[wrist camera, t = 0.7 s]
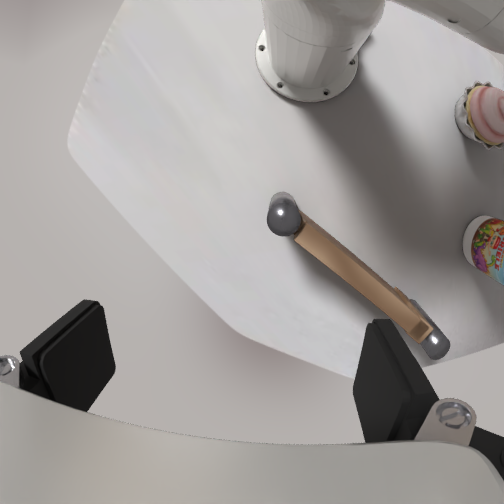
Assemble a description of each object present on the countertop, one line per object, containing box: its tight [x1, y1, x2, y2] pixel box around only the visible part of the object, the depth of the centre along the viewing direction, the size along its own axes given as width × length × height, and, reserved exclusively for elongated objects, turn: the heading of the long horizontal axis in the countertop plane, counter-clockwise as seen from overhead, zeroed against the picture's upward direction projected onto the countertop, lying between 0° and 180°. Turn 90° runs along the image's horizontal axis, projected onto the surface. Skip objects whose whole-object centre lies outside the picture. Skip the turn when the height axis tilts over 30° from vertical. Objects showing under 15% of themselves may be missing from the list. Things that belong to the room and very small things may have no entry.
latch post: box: [410, 299, 450, 360], centre depth 36 cm, size 3×3×11 cm
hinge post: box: [267, 192, 301, 236], centre depth 33 cm, size 3×3×11 cm
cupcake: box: [455, 81, 504, 150], centre depth 28 cm, size 9×9×10 cm
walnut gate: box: [293, 209, 433, 344], centre depth 34 cm, size 2×19×9 cm, turn 53°
